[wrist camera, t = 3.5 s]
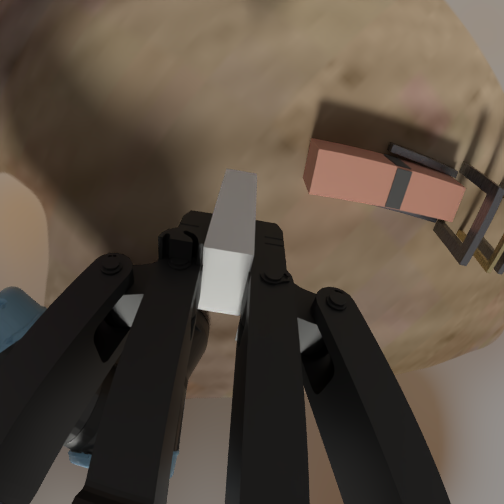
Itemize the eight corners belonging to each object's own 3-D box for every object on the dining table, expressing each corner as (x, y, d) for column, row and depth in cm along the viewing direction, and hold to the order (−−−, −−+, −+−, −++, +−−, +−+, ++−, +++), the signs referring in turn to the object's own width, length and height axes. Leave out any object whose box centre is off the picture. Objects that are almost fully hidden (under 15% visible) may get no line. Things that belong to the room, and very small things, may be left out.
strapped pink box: (302, 177, 27) (308, 195, 24) (310, 136, 24) (319, 147, 21) (434, 205, 28) (452, 223, 24) (446, 171, 25) (467, 187, 22)
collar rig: (364, 211, 28) (390, 255, 22) (393, 130, 23) (434, 154, 17) (477, 243, 30) (505, 279, 24) (505, 185, 25) (541, 215, 19)
